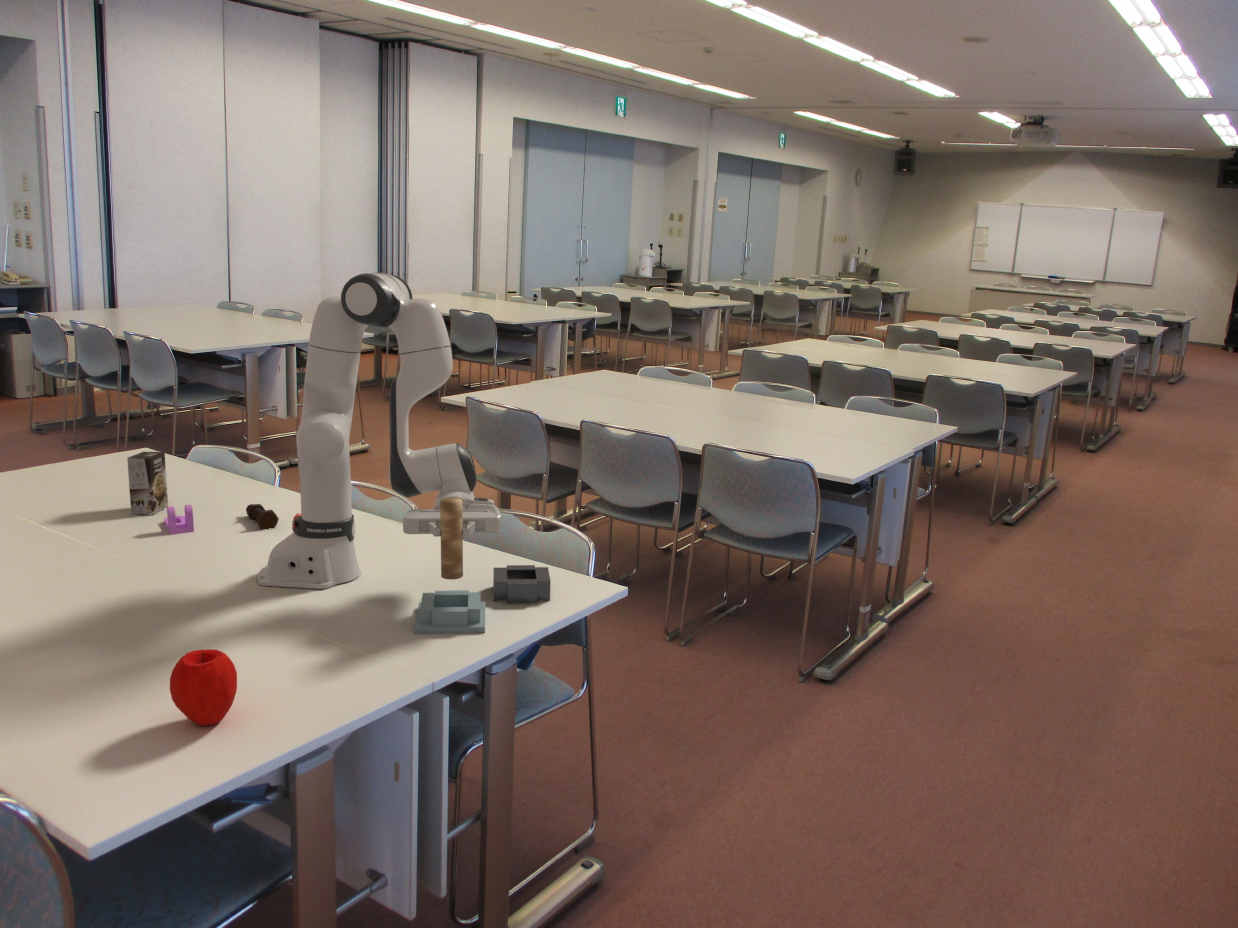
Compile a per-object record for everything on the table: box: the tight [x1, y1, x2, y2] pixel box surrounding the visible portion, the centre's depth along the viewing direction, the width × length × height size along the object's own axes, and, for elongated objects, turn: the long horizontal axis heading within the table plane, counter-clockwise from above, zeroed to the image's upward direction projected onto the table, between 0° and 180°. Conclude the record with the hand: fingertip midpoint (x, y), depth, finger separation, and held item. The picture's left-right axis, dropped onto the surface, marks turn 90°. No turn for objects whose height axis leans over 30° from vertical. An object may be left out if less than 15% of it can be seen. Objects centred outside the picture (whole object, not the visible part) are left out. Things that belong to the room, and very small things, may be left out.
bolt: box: [245, 503, 279, 530], centre depth 257 cm, size 6×5×15 cm
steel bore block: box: [492, 564, 552, 605], centre depth 212 cm, size 12×12×4 cm
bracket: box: [163, 504, 195, 535], centre depth 250 cm, size 13×6×7 cm, turn 33°
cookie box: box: [127, 451, 169, 516], centre depth 262 cm, size 9×6×16 cm
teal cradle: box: [413, 589, 486, 635], centre depth 195 cm, size 14×14×4 cm
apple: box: [169, 648, 238, 727], centre depth 150 cm, size 10×10×12 cm
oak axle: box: [440, 498, 464, 580], centre depth 192 cm, size 4×4×16 cm
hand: (451, 532), depth 191 cm, fingers closed on oak axle, 4 cm apart
